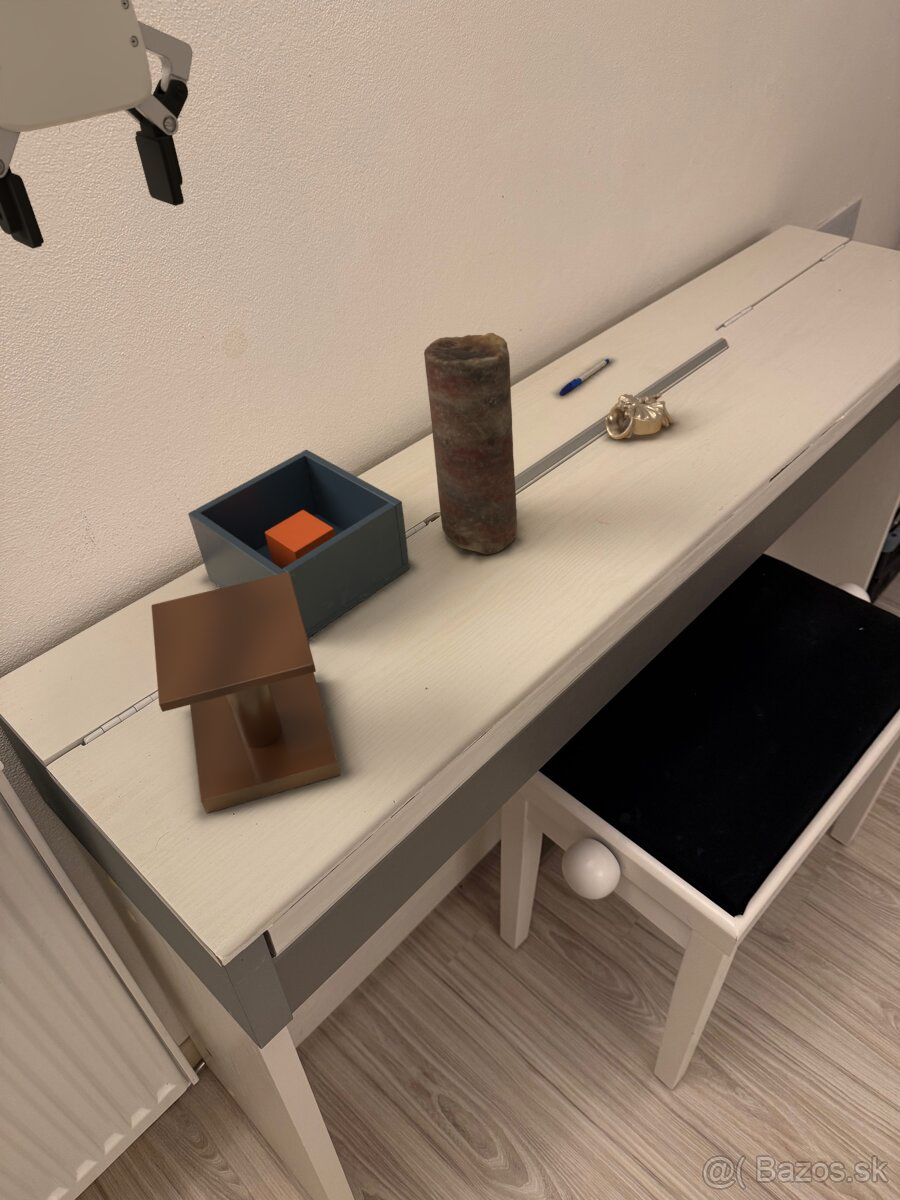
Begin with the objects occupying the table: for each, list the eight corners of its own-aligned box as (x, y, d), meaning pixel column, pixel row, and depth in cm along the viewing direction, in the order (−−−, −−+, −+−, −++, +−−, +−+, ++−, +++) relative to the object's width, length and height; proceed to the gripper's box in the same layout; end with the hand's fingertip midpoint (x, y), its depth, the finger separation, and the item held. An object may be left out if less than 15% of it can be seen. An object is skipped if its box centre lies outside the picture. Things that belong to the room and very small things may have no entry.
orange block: (303, 590, 79) (294, 552, 76) (273, 569, 81) (264, 531, 78) (340, 566, 81) (333, 528, 78) (311, 546, 83) (303, 509, 80)
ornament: (649, 404, 101) (652, 376, 99) (683, 431, 96) (687, 402, 94) (589, 422, 99) (591, 393, 97) (621, 450, 94) (624, 421, 92)
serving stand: (205, 813, 62) (158, 704, 54) (194, 713, 69) (150, 604, 61) (340, 775, 64) (314, 663, 56) (315, 681, 71) (289, 571, 63)
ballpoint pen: (564, 397, 104) (564, 390, 103) (558, 396, 104) (558, 388, 104) (609, 363, 110) (610, 356, 109) (603, 361, 110) (604, 354, 109)
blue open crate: (297, 645, 75) (280, 577, 69) (209, 579, 82) (187, 513, 77) (410, 568, 81) (402, 501, 76) (319, 513, 89) (306, 448, 84)
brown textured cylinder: (428, 548, 84) (409, 356, 70) (456, 505, 88) (443, 319, 75) (502, 563, 81) (497, 368, 68) (527, 518, 86) (527, 328, 73)
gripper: (112, -141, 50) (186, 178, 61) (-218, -122, 41) (-60, 247, 52) (182, -146, 45) (248, 197, 57) (-167, -127, 37) (-7, 276, 48)
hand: (101, 221), depth 54 cm, fingers open, 9 cm apart
